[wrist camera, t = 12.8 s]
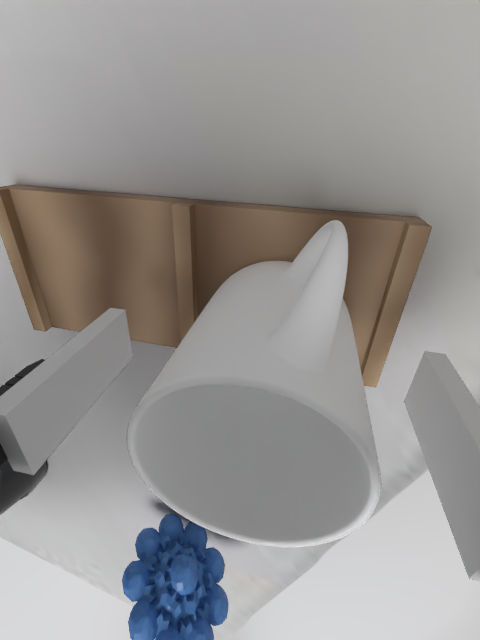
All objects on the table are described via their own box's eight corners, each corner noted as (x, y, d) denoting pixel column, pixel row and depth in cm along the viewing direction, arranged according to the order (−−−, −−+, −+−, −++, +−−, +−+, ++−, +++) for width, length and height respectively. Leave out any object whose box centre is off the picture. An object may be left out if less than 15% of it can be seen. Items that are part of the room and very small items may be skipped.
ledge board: (54, 316, 25) (34, 329, 24) (15, 184, 20) (-16, 188, 19) (371, 366, 21) (376, 387, 19) (419, 217, 16) (432, 226, 14)
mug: (416, 233, 15) (562, 363, 6) (311, 393, 22) (307, 572, 13) (256, 169, 15) (169, 204, 6) (198, 346, 22) (113, 491, 13)
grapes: (254, 527, 35) (228, 686, 25) (233, 549, 38) (203, 696, 28) (161, 485, 35) (96, 627, 24) (148, 511, 38) (87, 644, 28)
